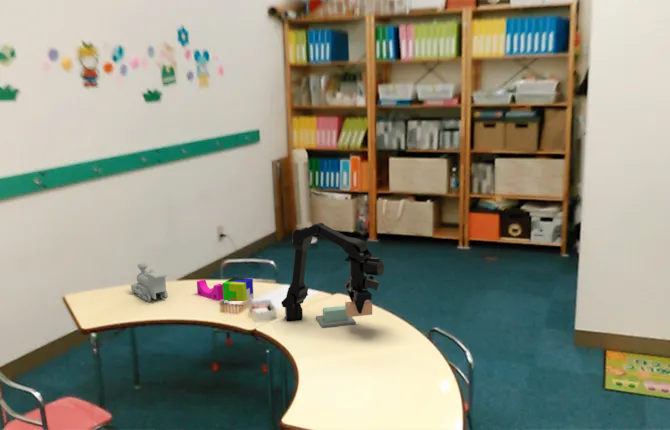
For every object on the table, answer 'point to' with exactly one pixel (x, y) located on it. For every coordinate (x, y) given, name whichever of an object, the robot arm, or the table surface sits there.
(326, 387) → the table surface
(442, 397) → the table surface
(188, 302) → the table surface
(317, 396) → the table surface
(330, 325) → the baseplate
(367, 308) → the terracotta brick
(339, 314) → the teal brick
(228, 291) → the puzzle toy
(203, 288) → the toy block
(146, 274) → the toy train
